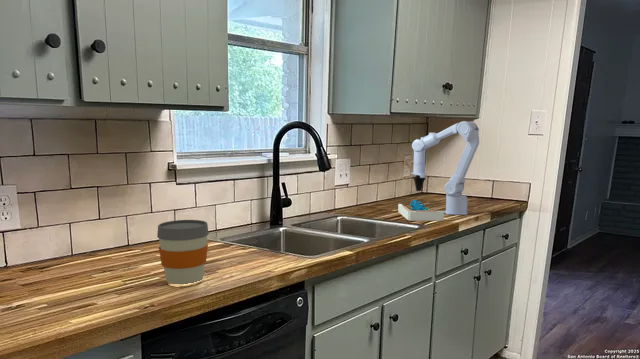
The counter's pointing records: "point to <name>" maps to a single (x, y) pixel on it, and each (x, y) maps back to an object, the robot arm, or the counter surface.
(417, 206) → the blue toy dinosaur
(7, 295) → the counter surface
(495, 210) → the counter surface
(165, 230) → the reusable coffee cup
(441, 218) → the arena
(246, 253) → the counter surface
